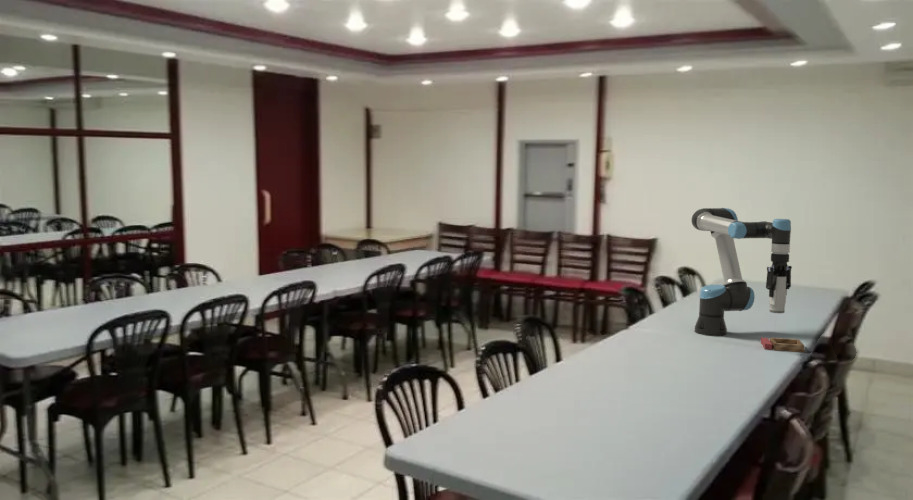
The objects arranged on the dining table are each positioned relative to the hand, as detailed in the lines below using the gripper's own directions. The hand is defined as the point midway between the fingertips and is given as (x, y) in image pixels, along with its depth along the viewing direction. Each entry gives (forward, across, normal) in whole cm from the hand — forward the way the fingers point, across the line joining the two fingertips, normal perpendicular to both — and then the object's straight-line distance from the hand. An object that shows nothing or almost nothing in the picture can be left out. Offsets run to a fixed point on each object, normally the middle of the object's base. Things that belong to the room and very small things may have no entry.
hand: (777, 303), depth 323 cm
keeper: (+20, -4, +3) cm, 21 cm away
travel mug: (+4, 0, 0) cm, 4 cm away
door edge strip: (+20, +2, -3) cm, 21 cm away
